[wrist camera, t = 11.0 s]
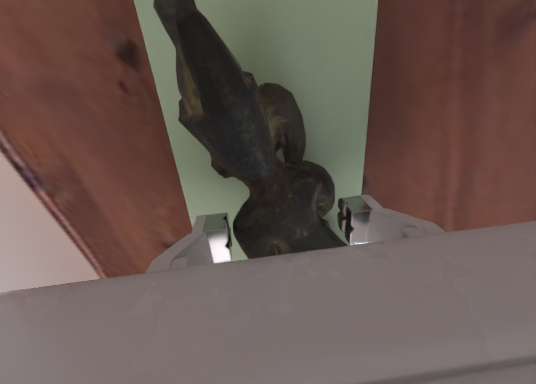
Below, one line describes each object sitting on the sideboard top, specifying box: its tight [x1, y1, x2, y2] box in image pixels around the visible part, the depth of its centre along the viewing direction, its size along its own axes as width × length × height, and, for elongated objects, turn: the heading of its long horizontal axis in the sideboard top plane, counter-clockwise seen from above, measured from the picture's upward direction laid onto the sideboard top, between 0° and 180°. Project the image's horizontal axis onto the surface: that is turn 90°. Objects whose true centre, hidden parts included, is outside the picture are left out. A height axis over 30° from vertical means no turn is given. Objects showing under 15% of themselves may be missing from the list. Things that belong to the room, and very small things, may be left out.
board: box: [134, 0, 378, 264], centre depth 16 cm, size 22×11×1 cm, turn 5°
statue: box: [153, 0, 348, 259], centre depth 13 cm, size 6×6×20 cm
